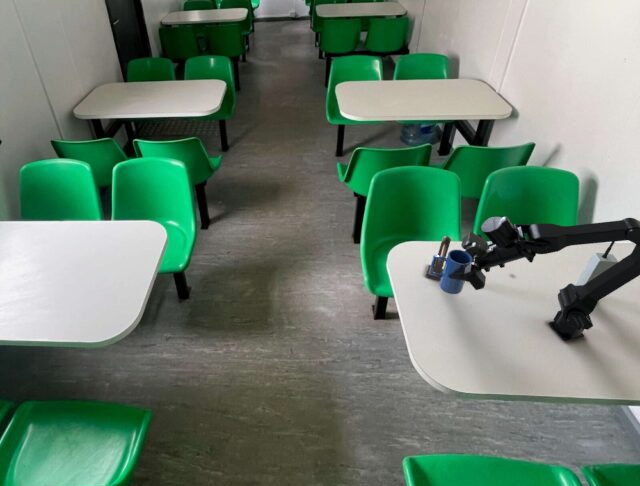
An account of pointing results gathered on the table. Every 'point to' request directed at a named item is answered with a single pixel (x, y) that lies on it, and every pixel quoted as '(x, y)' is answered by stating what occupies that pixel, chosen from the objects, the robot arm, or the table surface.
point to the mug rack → (439, 263)
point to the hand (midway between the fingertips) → (450, 269)
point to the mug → (451, 270)
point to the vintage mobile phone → (597, 266)
